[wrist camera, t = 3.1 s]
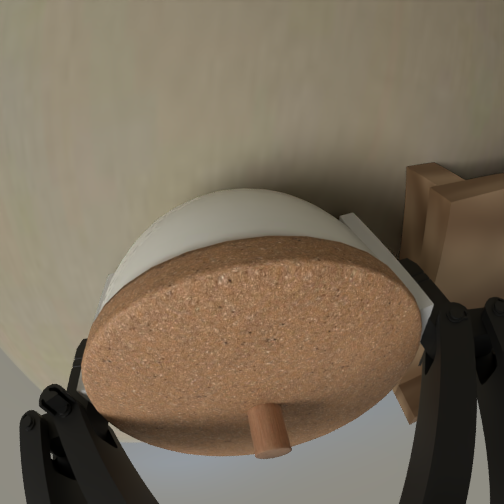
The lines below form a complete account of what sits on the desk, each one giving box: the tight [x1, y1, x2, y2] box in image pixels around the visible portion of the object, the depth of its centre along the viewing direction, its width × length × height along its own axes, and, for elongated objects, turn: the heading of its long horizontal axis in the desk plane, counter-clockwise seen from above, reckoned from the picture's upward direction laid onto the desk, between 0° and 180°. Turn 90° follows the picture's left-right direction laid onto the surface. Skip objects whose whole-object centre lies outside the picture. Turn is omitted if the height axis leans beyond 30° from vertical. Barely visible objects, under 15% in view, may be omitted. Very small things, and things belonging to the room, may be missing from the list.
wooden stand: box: [392, 163, 504, 424], centre depth 15 cm, size 16×14×7 cm
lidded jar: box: [81, 188, 422, 459], centre depth 11 cm, size 11×11×9 cm
